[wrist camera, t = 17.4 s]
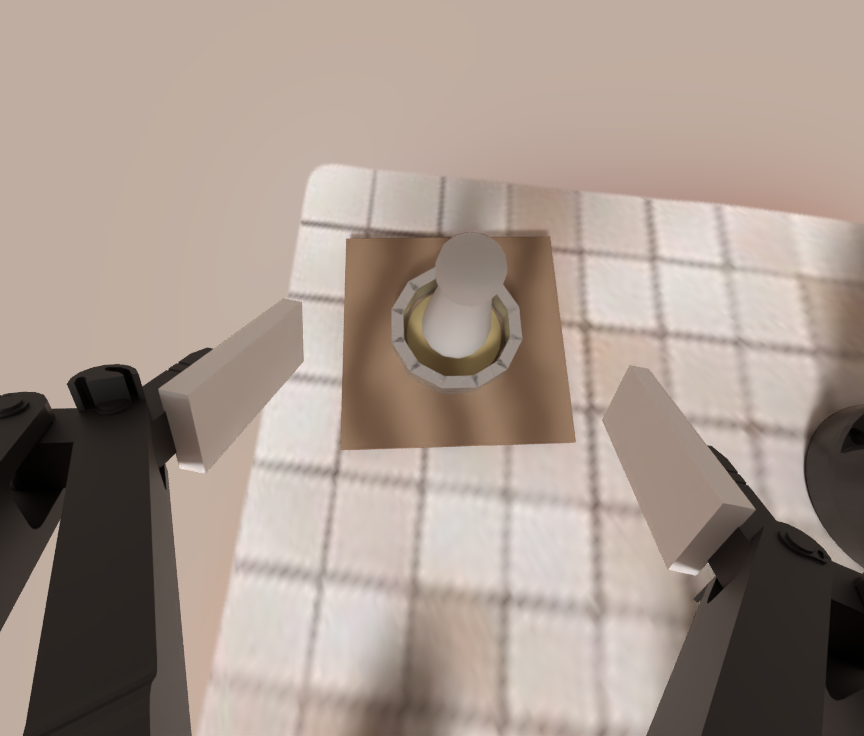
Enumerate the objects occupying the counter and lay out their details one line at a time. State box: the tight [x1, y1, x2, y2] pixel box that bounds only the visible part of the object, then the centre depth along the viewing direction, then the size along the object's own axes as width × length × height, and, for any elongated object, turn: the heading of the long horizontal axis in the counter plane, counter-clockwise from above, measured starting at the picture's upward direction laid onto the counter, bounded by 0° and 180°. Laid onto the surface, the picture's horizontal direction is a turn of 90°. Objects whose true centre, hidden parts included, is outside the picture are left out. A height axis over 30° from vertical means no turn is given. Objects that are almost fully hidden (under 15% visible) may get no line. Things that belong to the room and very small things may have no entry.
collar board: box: [341, 237, 576, 450], centre depth 33 cm, size 20×20×4 cm
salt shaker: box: [422, 232, 508, 358], centre depth 27 cm, size 6×6×13 cm
